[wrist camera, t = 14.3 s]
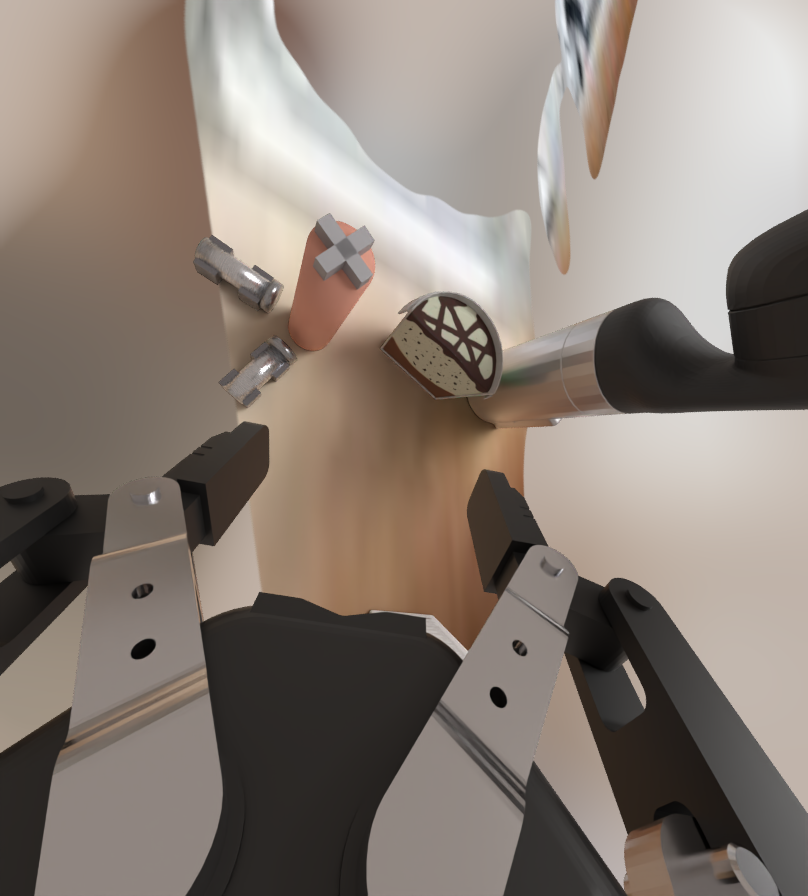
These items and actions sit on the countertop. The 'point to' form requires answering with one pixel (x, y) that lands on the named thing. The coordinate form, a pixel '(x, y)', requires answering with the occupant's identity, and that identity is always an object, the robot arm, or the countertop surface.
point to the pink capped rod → (330, 281)
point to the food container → (447, 346)
